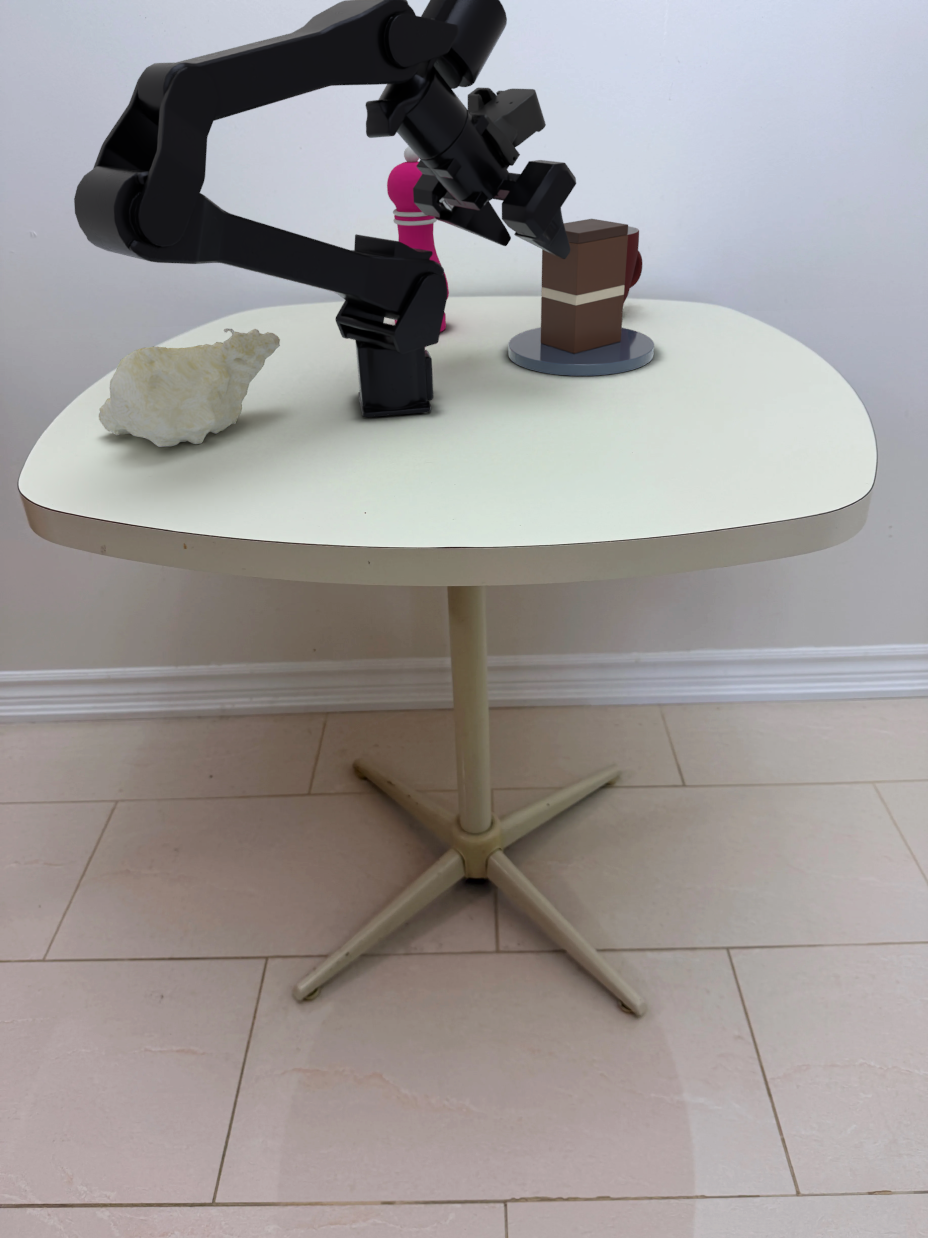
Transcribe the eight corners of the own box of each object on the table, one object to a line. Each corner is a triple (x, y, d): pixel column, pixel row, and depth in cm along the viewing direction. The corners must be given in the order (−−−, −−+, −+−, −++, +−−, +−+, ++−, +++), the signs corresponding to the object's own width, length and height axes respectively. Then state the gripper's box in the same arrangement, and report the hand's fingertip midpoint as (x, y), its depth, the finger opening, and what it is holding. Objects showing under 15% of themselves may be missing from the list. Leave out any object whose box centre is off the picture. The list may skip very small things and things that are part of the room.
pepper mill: (461, 325, 111) (456, 143, 100) (428, 339, 106) (419, 149, 95) (413, 318, 115) (403, 141, 104) (379, 332, 109) (365, 147, 99)
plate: (526, 381, 92) (526, 369, 92) (495, 339, 106) (495, 329, 105) (675, 369, 94) (676, 357, 94) (626, 329, 108) (627, 319, 107)
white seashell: (93, 489, 77) (196, 388, 69) (54, 415, 77) (152, 307, 70) (218, 477, 90) (316, 391, 83) (184, 414, 91) (279, 323, 83)
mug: (606, 300, 120) (610, 219, 114) (657, 310, 115) (664, 225, 110) (555, 316, 113) (558, 231, 108) (607, 327, 109) (612, 238, 103)
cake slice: (574, 353, 96) (578, 232, 89) (540, 343, 99) (542, 226, 93) (621, 341, 99) (628, 224, 93) (586, 331, 103) (591, 218, 96)
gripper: (563, 52, 72) (649, 188, 84) (432, 54, 85) (521, 172, 96) (486, 170, 73) (582, 290, 84) (367, 155, 86) (464, 260, 97)
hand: (536, 248), depth 90 cm, fingers open, 9 cm apart
